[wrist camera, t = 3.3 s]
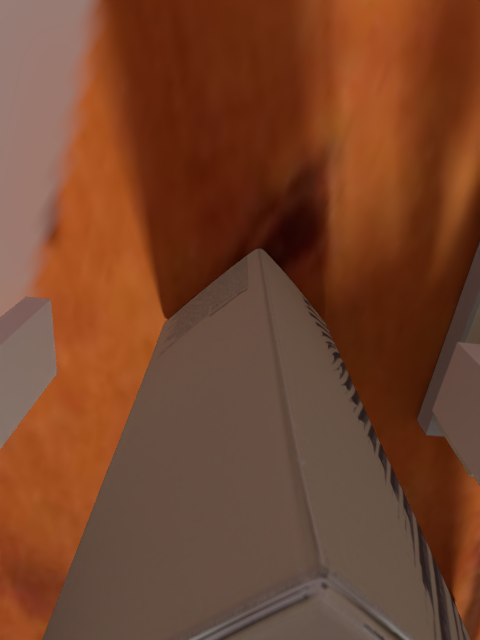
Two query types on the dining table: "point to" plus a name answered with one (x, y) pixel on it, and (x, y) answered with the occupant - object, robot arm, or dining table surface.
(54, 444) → the dining table surface
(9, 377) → the robot arm
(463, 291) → the socket board
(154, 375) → the box
